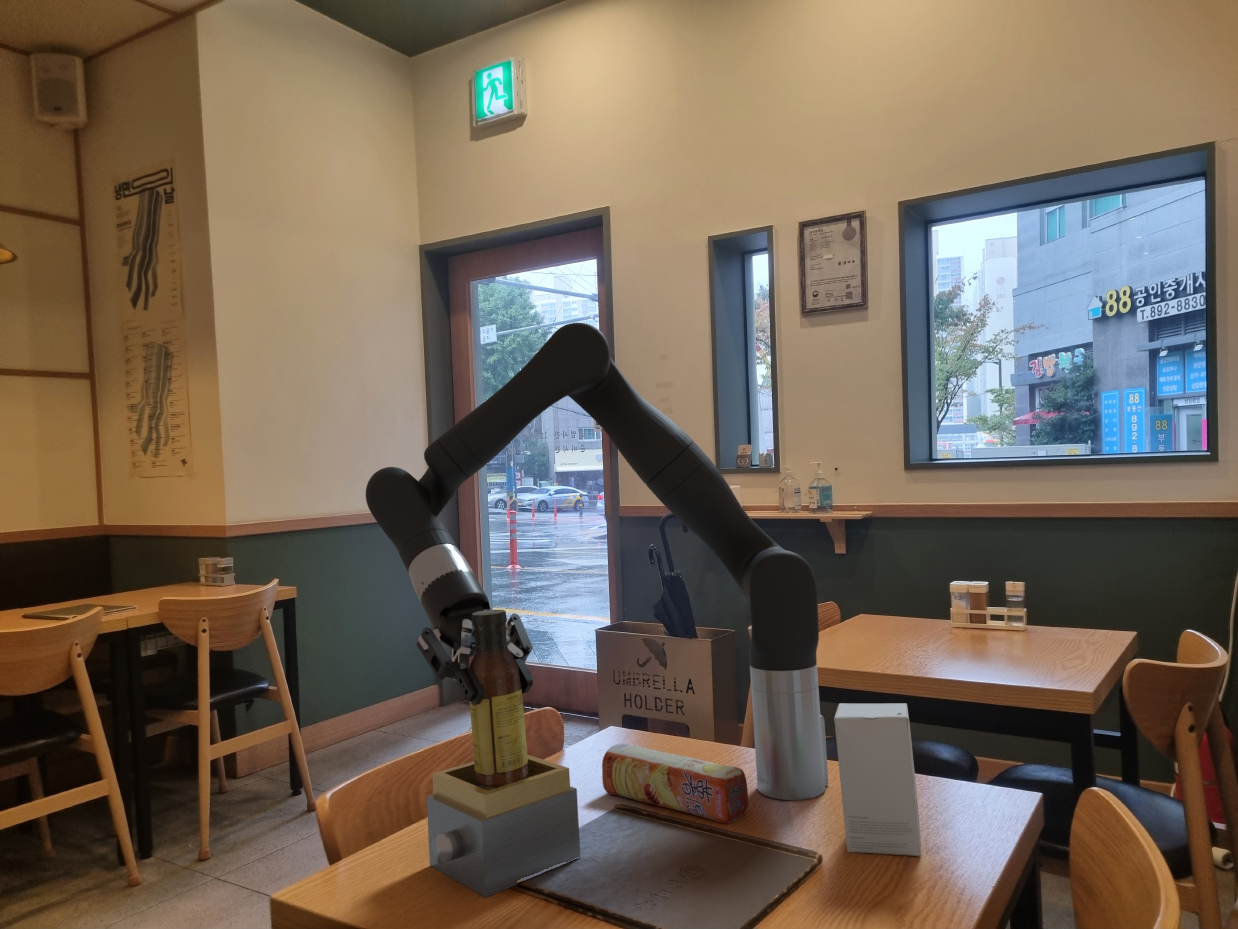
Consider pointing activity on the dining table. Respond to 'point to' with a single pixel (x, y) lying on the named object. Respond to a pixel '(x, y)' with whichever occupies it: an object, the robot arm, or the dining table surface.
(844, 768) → the skincare box
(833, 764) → the dining table surface
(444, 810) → the box
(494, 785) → the sauce bottle
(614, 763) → the snack package
